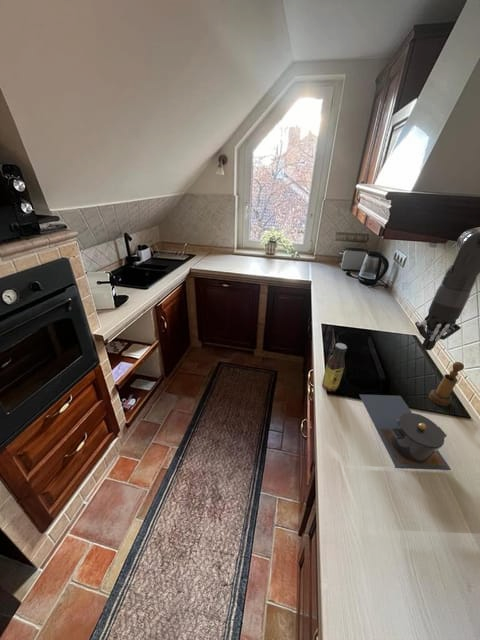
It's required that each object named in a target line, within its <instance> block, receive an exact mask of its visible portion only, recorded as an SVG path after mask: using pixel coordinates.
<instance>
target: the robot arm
mask: <svg viewBox="0 0 480 640" xmlns="http://www.w3.org/2000/svg"><path fill="white" fill-rule="evenodd" d="M456 248H457V250H458V252H457V255H456V257H455V259H454V261H453V262H452V264H451V265H450V266H449V267H448V268H447V270H446V272H445V274H444V275H443V278H442V281H441V283H440V285H439V287H438V288H437V290H436V292H435V294H434V297H433V298H432V301H431V302H430V306H429V308H428V314H427V315H426V316H425V318H424V320H422V321H416V322H415V323H414V325H415V327H416V329H417V331H418V333H419V335H420V336H421V337H422V338H423V339H424V340H423V342H422V345H421V347H422V348H423V349H424V350H425V351H432V350H433V349H435V348H434V347H435V346H436V344H437V342H439V341H440V340H442V341H444V340H446V339H448V338H450V336H452V335H453V334H455V333H456V332H458V331H460V330H461V328H462V327H461V326H460V325H458V324H457V320H458V319H459V318H460V317H461V314H462V312H463V310H464V308H465V307H466V305H467V303H468V300H469V299H470V296H471V293H472V290H473V288H474V287H475V284H476V282H477V281H478V278H479V276H480V226H479V227H473V228H470V229H467V230H466V231H464V232H463V233H461V234H460V236H459V237H458V238H457V240H456Z"/></svg>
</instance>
